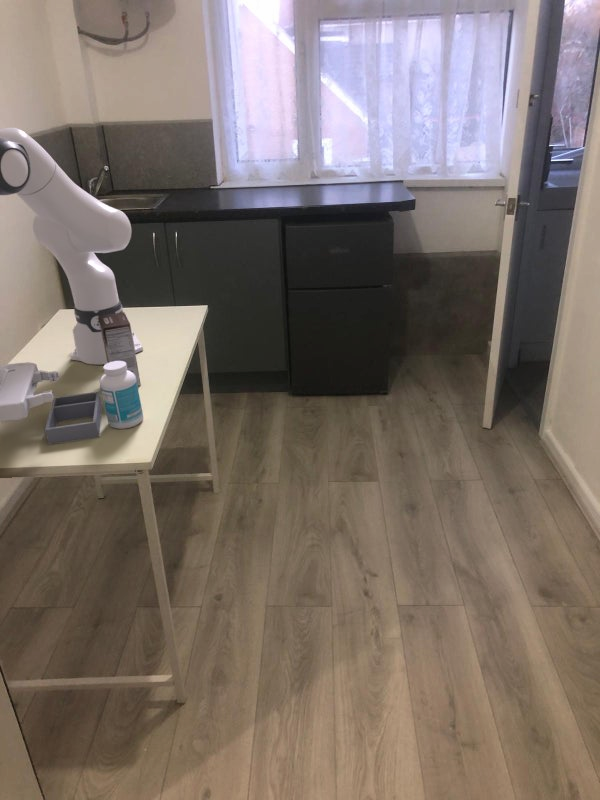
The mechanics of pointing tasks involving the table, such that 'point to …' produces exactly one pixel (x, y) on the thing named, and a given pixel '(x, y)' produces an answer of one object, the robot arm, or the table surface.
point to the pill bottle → (121, 396)
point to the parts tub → (74, 417)
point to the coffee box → (119, 341)
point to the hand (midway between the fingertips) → (55, 385)
